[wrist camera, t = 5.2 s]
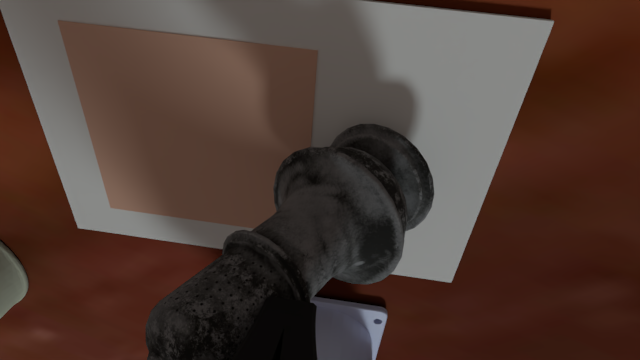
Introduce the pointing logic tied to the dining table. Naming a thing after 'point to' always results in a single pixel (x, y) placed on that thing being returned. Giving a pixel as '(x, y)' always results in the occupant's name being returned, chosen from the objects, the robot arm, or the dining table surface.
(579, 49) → the dining table surface
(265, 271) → the dark grey chess piece
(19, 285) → the can
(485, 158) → the mat
